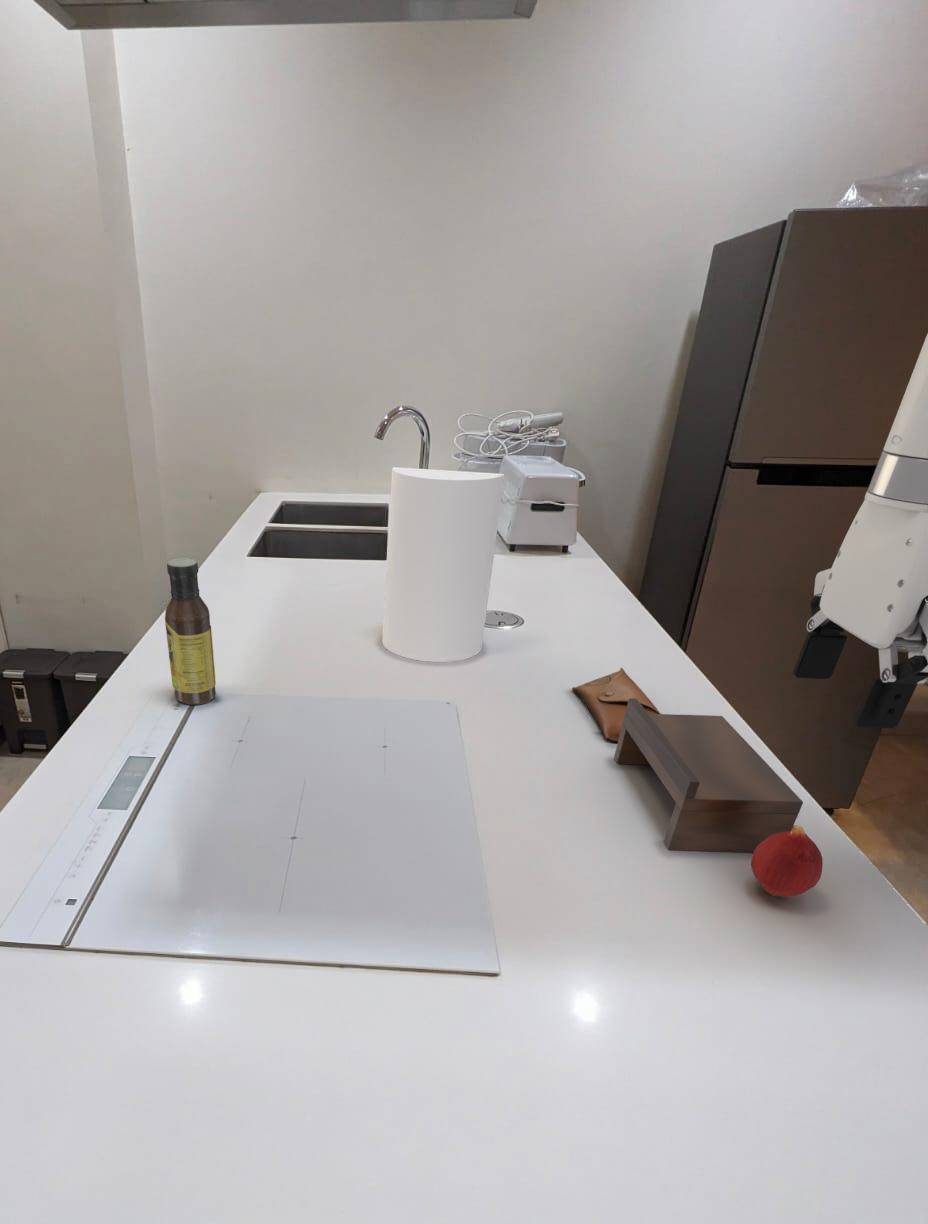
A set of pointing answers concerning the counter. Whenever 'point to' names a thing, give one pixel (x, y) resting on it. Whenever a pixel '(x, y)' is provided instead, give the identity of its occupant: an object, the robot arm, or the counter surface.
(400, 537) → the cylinder
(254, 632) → the counter surface
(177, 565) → the sauce bottle
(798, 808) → the shelf
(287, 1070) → the counter surface
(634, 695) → the sunglasses case
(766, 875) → the onion
